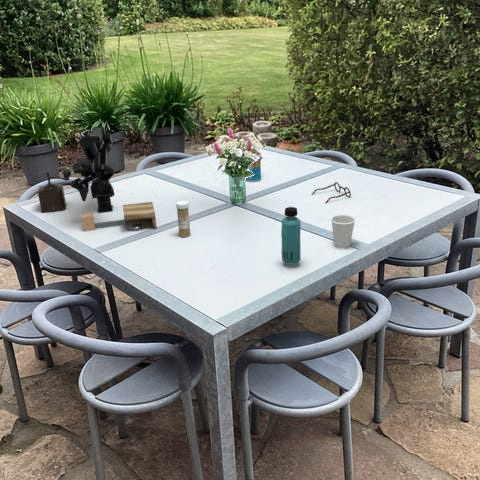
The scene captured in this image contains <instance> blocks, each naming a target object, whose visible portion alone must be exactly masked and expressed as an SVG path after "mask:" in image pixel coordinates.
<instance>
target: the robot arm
mask: <svg viewBox="0 0 480 480" xmlns="http://www.w3.org/2000/svg"><path fill="white" fill-rule="evenodd" d="M91 128H92V130H91V132H90V134H89V133H86V134H84V136H83V137H82V138H80V140H79V143H78V144H79V146H80V149H81V151H82V153H83V155H84V158H82V159H81V160H80V161H77V162H76V163H74V164H72V165H71V167H72V171H73V174H77V175H78V174H79V175H80V176H81V177H84V178H80V177H78V178H75V179H73V180H72V181H71V182H70V188H73V189H75V190H77V191H78V193H79V195H80V198H81V200H82V201H83V202H85V201H86V200H87V197H88V194H89V191H90V192H91V197H92V199H96V202H97V213H105V212H112V211H114V209H113V207H114V206H113V204H112V200H111V199H112V198H113V197H114V196H115V190H114V187H113V185H112V183H111V182H110V179H112V177H114V174H115V173H114V168H112V167H110V166H108V153H109V152H110V151H111V150H112V145H113V136H112V133H111V132H110V131H108V130H107V129H106V127H105V126H94V127H91ZM89 183H91V184H89ZM89 186H90V188H89Z"/></svg>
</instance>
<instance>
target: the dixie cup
mask: <svg viewBox="0 0 480 480" xmlns="http://www.w3.org/2000/svg"><path fill="white" fill-rule="evenodd" d="M330 221H331V227H332V229H331V230H332V235H333V236H332V238H333V245H334V247H335V248H338V249H347V248H350V247H351V242H352V237H353V232H354V226H355V221H356V219H355V217H353V216H351V215H348V214H338V215H333V216H332V217H331V218H330Z"/></svg>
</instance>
